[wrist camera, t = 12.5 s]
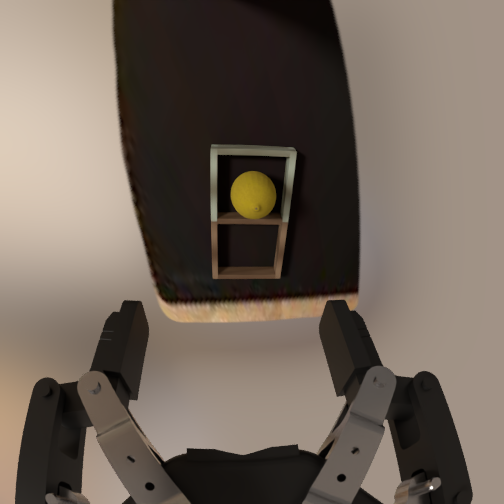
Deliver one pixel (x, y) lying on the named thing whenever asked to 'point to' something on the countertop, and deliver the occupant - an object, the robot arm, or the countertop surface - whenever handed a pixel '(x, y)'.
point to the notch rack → (236, 218)
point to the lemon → (253, 195)
